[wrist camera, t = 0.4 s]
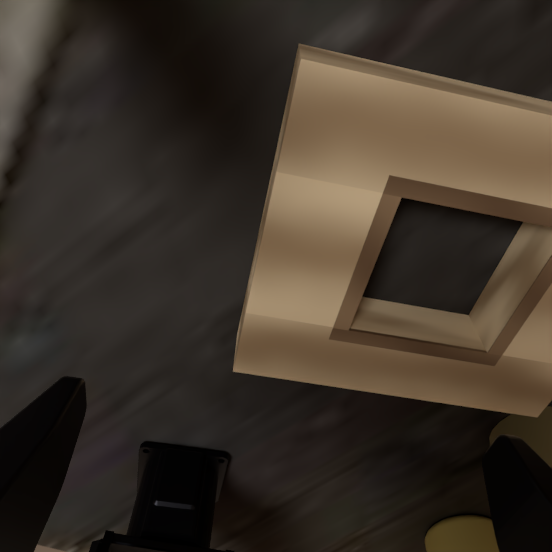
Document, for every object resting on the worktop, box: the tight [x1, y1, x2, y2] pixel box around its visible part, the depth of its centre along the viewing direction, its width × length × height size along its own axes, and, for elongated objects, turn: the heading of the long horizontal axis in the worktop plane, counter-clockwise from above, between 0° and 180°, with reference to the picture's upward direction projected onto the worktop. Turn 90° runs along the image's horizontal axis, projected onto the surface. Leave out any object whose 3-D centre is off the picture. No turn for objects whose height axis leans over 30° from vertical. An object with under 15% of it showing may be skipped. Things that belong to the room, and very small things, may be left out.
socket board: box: [233, 44, 552, 417], centre depth 23 cm, size 16×18×3 cm
